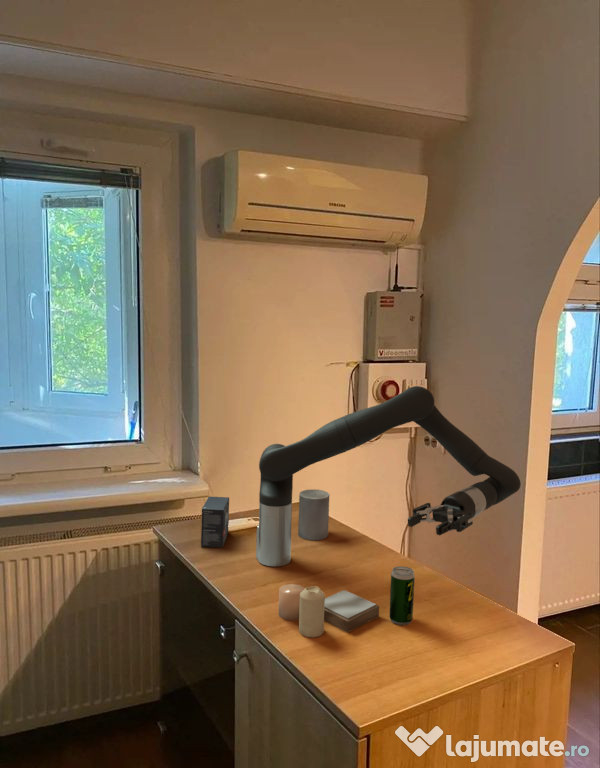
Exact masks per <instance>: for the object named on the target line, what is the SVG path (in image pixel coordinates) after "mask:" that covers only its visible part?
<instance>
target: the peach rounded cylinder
mask: <svg viewBox="0 0 600 768" xmlns="http://www.w3.org/2000/svg"><path fill="white" fill-rule="evenodd" d="M304 589H305V587H303V586H302V585H299V584H295V583H290V584H289V583H288V584H284V585H283V584H282V585H281V586H280V587H279V588H278V616H279V618H281V619H283V620H286V621H299V611H300V593H301V592H302V591H303V590H304Z"/></svg>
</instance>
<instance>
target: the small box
mask: <svg viewBox="0 0 600 768" xmlns="http://www.w3.org/2000/svg"><path fill="white" fill-rule="evenodd" d="M207 497H208V498H207V500H206V501H205V502H204V504H203V506H202V507H201V529H200V530H201V531H200V532H201V534H200V547H202V548H223V547H224V545H225V542H226V539H227V536H228V535H227V534H229V527H228V526H229V522H230V521H229V520H230V519H229V516H230V515H229V514H230V497H227V496H225V497H224V496H207Z"/></svg>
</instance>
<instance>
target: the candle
mask: <svg viewBox="0 0 600 768" xmlns="http://www.w3.org/2000/svg"><path fill="white" fill-rule="evenodd" d="M325 598H326V595H325V592H323V591H322V590H321V588H320V587H319V586H315V585H311V586H306V587H304V590H303V591H302V592H301V593H300V611H299V620H298V631H299V632H298V633H299V634H300V635H301V636H304V637H306V638H318V637H320V636H322V635H323V634H324V631H325V621H324V607H325Z"/></svg>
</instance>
